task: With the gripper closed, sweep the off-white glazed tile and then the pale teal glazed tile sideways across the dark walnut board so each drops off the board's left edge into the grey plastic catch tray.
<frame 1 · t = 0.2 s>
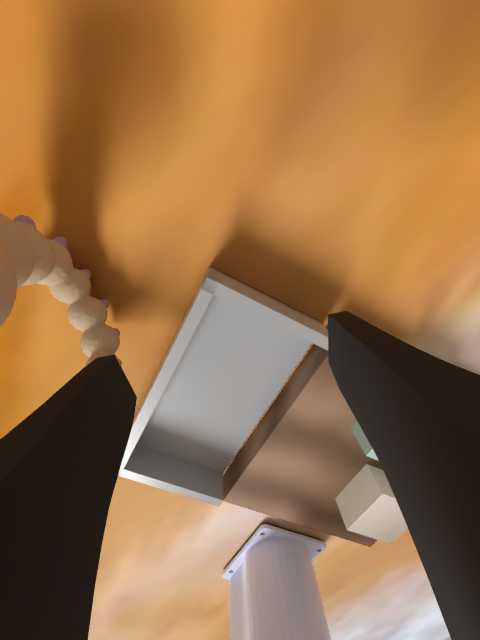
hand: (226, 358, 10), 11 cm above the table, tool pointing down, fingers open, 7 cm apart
tray: (215, 387, 23), on the table
board: (346, 440, 26), on the table
toy: (85, 283, 19), on the table
tile b: (391, 417, 22), point 2 cm above the table, touching board
tile a: (371, 489, 25), point 2 cm above the table, touching board
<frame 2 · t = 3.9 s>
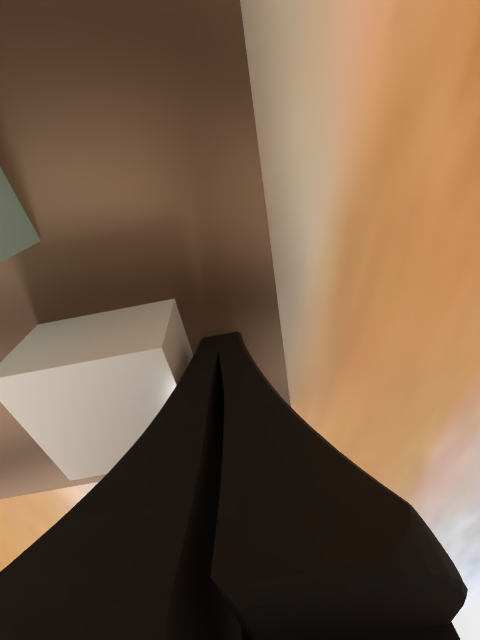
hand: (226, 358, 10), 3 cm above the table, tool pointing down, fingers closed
board: (67, 299, 11), on the table
tile a: (131, 364, 10), point 2 cm above the table, touching gripper
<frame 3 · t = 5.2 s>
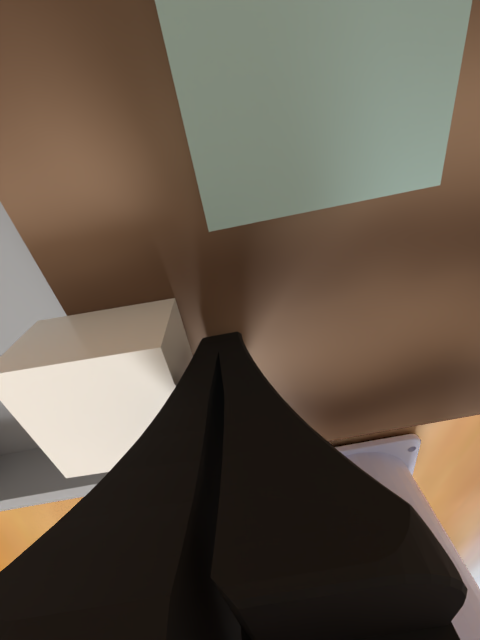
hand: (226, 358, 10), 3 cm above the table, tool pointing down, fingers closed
board: (296, 255, 11), on the table
tile b: (284, 85, 7), point 2 cm above the table, touching board
tile a: (130, 363, 10), point 2 cm above the table, touching gripper
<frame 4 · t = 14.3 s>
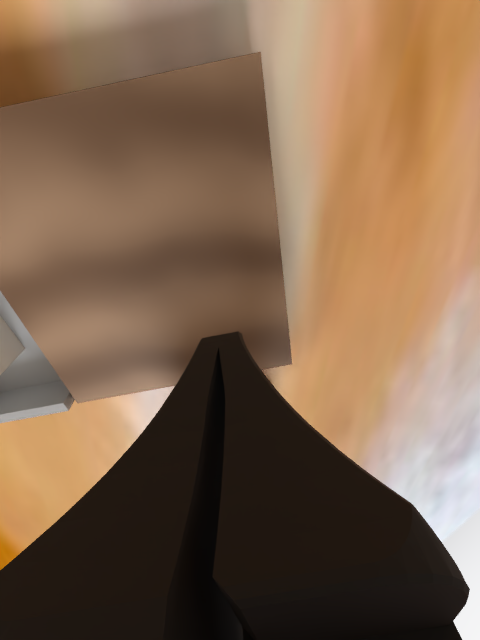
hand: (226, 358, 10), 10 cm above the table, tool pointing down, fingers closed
board: (150, 262, 18), on the table
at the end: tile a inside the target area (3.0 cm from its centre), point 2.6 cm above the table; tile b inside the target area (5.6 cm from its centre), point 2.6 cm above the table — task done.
